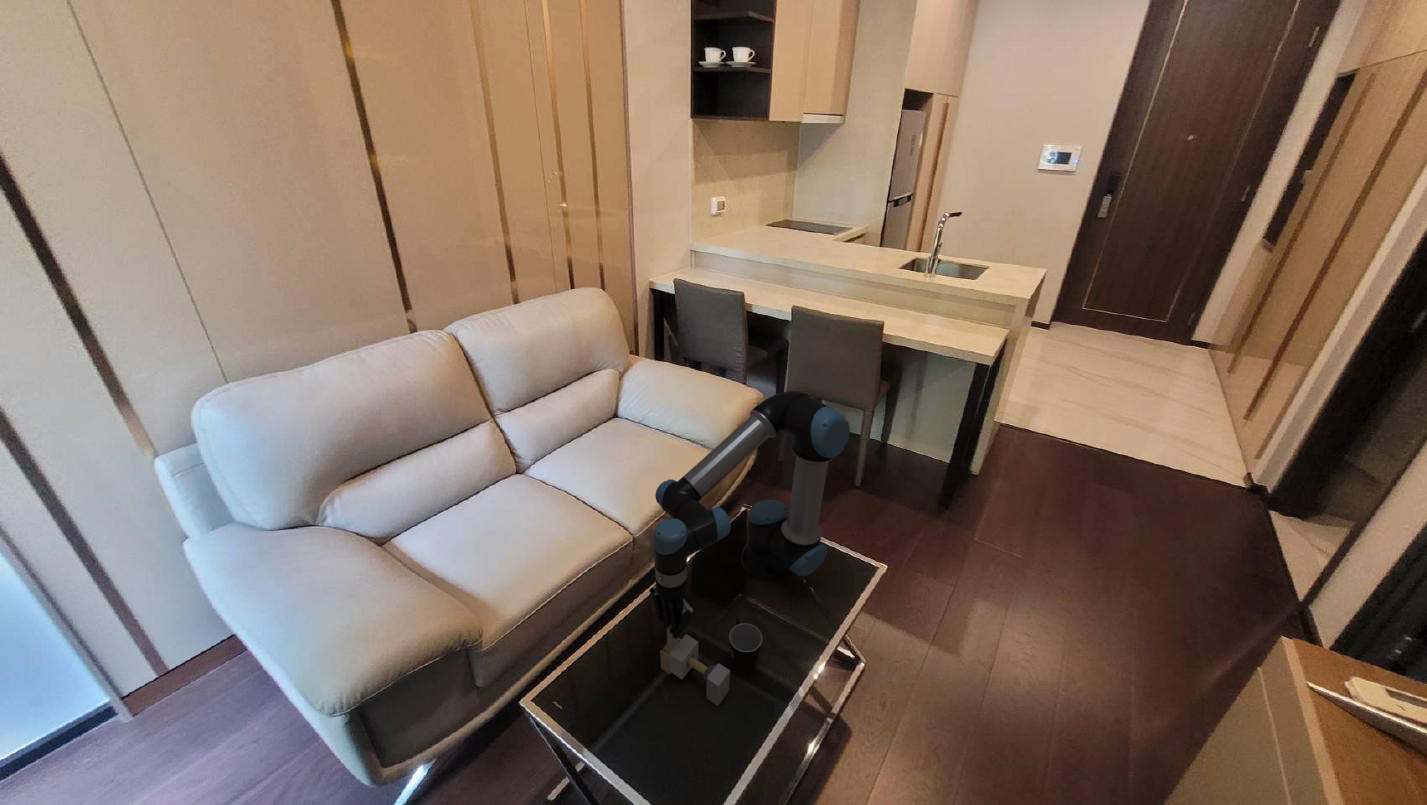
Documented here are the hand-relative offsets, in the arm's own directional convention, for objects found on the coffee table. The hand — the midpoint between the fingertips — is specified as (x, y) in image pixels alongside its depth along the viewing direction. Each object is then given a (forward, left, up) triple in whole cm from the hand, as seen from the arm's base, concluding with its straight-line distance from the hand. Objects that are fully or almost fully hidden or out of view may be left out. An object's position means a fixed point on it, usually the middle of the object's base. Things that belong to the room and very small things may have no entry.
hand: (672, 642), depth 135 cm
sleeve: (0, +4, -6) cm, 7 cm away
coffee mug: (-13, +14, -9) cm, 21 cm away
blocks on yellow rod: (0, +7, -9) cm, 11 cm away
